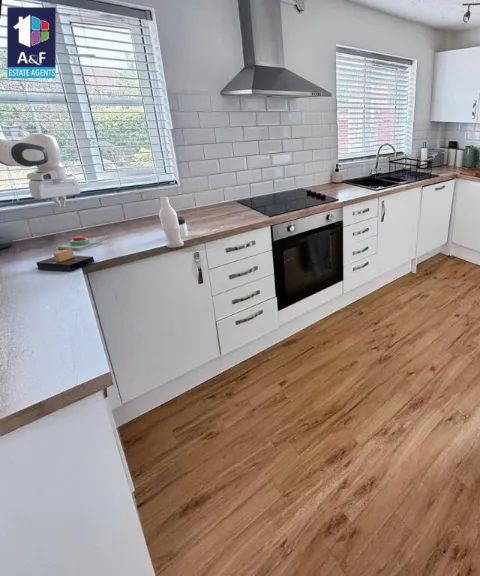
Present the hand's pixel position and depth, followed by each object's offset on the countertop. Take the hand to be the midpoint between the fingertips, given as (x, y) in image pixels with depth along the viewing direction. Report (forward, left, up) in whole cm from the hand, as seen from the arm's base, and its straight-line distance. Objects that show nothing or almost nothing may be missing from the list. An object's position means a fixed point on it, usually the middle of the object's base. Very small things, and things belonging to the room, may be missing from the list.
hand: (61, 206), depth 163 cm
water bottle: (+45, +9, -20) cm, 49 cm away
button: (+2, +3, -16) cm, 16 cm away
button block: (+2, +3, -20) cm, 20 cm away
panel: (+18, -21, -20) cm, 34 cm away
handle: (+18, -21, -16) cm, 32 cm away
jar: (+38, +23, -20) cm, 48 cm away
